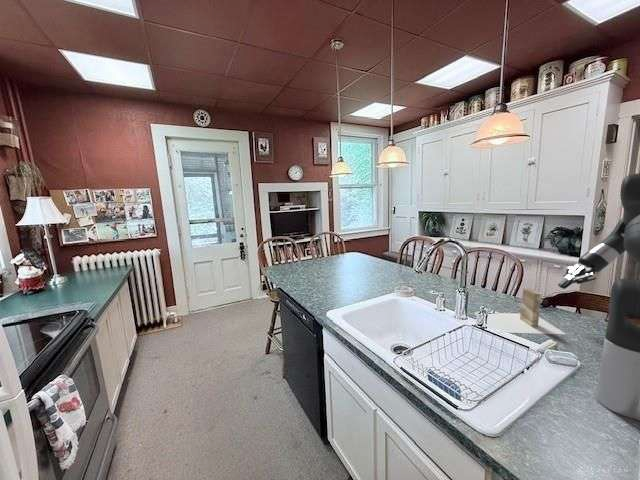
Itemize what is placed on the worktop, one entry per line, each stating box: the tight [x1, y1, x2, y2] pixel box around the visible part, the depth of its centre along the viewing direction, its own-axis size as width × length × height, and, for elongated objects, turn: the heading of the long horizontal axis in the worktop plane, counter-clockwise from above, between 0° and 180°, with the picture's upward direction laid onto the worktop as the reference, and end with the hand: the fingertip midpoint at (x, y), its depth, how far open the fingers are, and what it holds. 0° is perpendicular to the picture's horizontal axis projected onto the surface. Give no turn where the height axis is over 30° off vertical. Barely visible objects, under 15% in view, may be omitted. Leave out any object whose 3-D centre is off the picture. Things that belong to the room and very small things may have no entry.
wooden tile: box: [519, 287, 542, 327], centre depth 110 cm, size 3×7×14 cm, turn 175°
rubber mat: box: [473, 312, 567, 335], centre depth 112 cm, size 26×18×1 cm
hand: (560, 286), depth 108 cm, fingers closed
